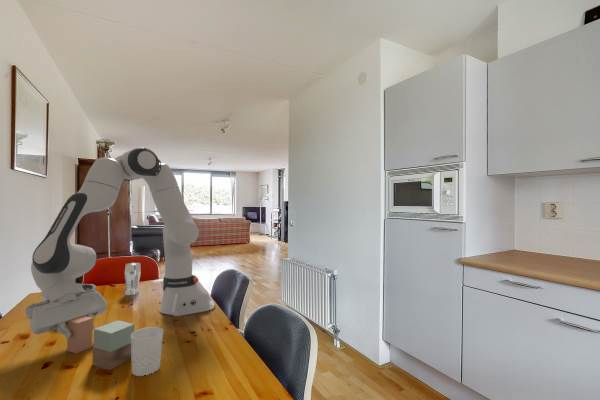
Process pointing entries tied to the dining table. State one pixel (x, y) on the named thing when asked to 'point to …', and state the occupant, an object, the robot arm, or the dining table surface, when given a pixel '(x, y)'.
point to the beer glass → (132, 278)
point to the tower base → (111, 357)
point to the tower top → (113, 335)
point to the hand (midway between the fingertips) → (81, 333)
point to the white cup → (146, 350)
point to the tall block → (80, 334)
